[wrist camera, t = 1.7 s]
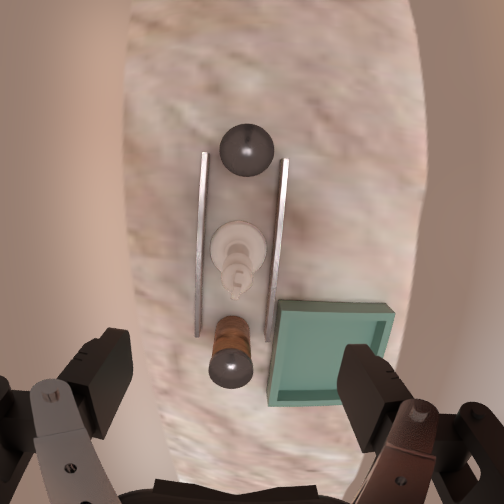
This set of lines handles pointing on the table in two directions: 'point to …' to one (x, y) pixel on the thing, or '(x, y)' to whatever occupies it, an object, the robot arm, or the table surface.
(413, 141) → the table surface
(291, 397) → the tray
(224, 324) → the rail
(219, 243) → the chess piece
